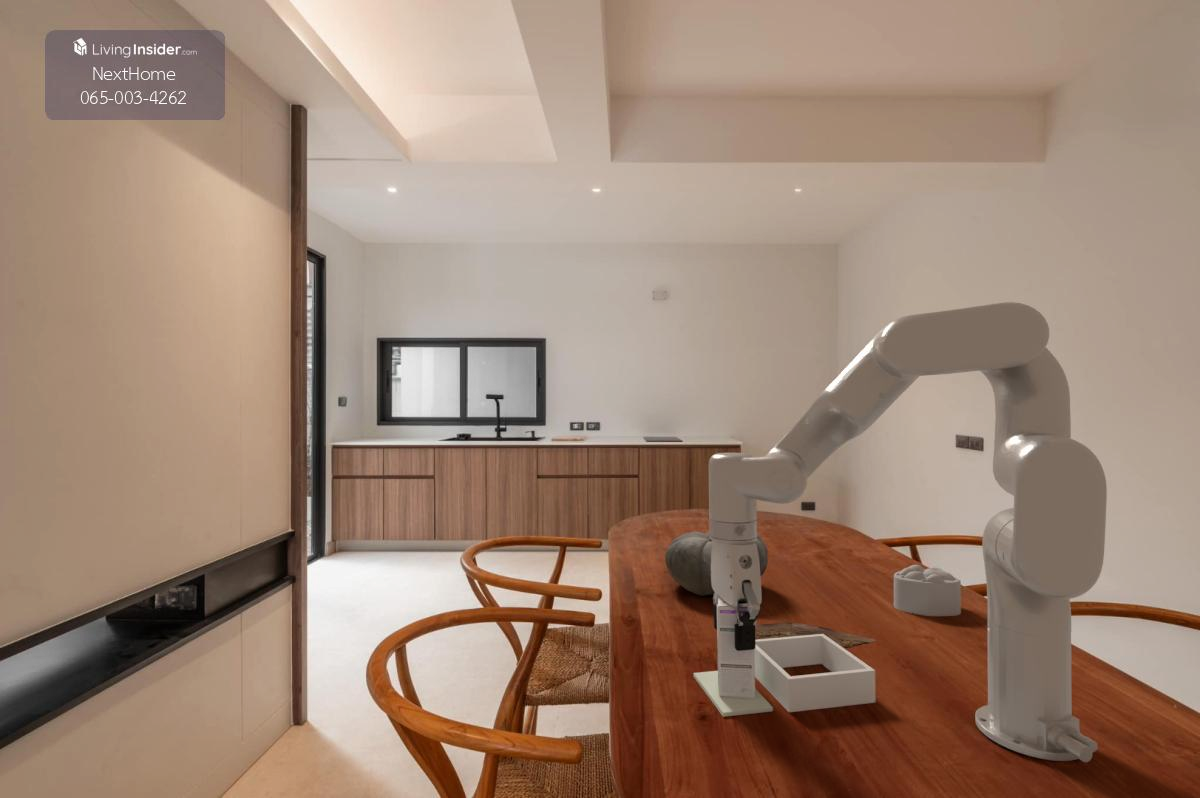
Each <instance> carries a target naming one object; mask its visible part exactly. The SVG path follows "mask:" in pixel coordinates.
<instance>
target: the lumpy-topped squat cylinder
mask: <svg viewBox="0 0 1200 798" xmlns="http://www.w3.org/2000/svg"><path fill="white" fill-rule="evenodd" d="M961 586H962V585H961V579H959V578H957V577H955V576H954V575H953V574H951V573H949V572H947V571H944V570H942V569H941V568H939V567H930V568H926V569H925V568H924V567H923V566H921V565H920V564H912V565H910V566H908V567H904V568H903V569H902V570H899V571H896V572H894V575H893V608H895V609H897V610H898V611H901V612H904V613H908V614H912V613H913V614H912V615H919V616H924V617H925V616H926V617H951V616H952V617H953V616H959V615H961V614H962V589H961Z"/></svg>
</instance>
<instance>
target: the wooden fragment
mask: <svg viewBox="0 0 1200 798" xmlns="http://www.w3.org/2000/svg"><path fill="white" fill-rule="evenodd" d="M815 634H824V635H826V636H827V637H828V638H830V639H831V640H833V641H834V642H836V643H837V644H838V645H840V646H841V647H843V648H844V649H846V648H851V647H854V646H859V645H861V644H866V643H867V644H873V643H875V642H876V641H877V640H876V639H874V638H868V637H864V636H862V635H856V634H852V633H847V632H842V631H837V630H834V629H831V628H826V627H821V626H818V625H817V626H816V625H810V624H804V623H801V622H799V623H798V622H788V621H787V622H774V623H765V624H764V623H763V624H762V623H761V624H756V625H755V640H758V639H770V638H781V637H792V636H803V635H815Z"/></svg>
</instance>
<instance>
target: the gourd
mask: <svg viewBox="0 0 1200 798" xmlns="http://www.w3.org/2000/svg"><path fill="white" fill-rule="evenodd" d="M755 542H756V545H757V550H758V556H759V564H760V577H762V576H763V575H764V574H765V572H766V569H767V566H768V563H769V559H768V558H769V555H768V554H769V551H768V545H767V544H766V543H765V541H764V540H763V538H762V537H761V536H760V535H759V534H758V533H757V541H755ZM711 550H712V540H711V539H710V538H709V530H708V531H707V532H705V533H703V532H700V531H691V532H686V533H683V534H681V535H679V536H677V537H676V538H674V539H673V540H672V541H671V542H670V544H669V547H668V548H667V549H666V551H665V556H664V557H665V565H666V569H667V572H668V573H669V575H670V576H671V578H672V579H673V580H674V581H675V582H676V583H677V584H678V585H679V586H680V587H682V588H684V589H685V590H687V591H688V592H691V593H692V594H695V595H698V596H709V595H711V596H712V595H714V592H713V590H712V585H711Z"/></svg>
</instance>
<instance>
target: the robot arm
mask: <svg viewBox="0 0 1200 798" xmlns="http://www.w3.org/2000/svg"><path fill="white" fill-rule="evenodd" d="M1049 339H1050V328H1049V324H1048V321H1047V320H1046V318H1045V317H1044V316H1043V314H1042V313H1041V312H1040V311H1038V310H1037V309H1036V308H1034V307H1032V306H1030V305H1027V304H1026V303H1025V304H1024V303H1021V302H1011V301H1010V302H1009V301H1008V302H998V303H991V304H990V303H989V304H984V305H979V306H978V305H977V306H970V307H964V308H956V309H949V310H941V311H933V312H925V313H916V314H909V315H905V316H901V317H898V318H896V319H894V320H893V321H891V322H889V323H888V324H886V326H884V327H883V328H882V329H881V330H880V331H878V332H877V334H876V335H875V336H874V337H873V338H872V339H871V340H870V341H869V342H868V343H867V344H866V345H865V346H864V347H863V348H862V349H861V351H860V352H858V354H857V355H856V356H855V357H854V358H853V359H851V361H850V362H849V364H847V366H846V367H844V369H843V370H842V371H840V373H839V374H837V376H836V378H834V379H833V381H832V382H830V383H829V385H827V386H826V388H825V389H824V390H823V391H822V392H821V393H820V395H818V397H817V398H815V400H814V401H813V403H812V405H811V406H810V407H809V408H808V409H807V411H806V412H805V413H804V415H802V417H801V418H800V419H799V420H798V421H797V422H796V423H795V424H794V425H793V426H792V427H791V428H790V430H788V432H786V433H785V435H784V436H783V437H781V439H780V440H779V441H778V442H777V443H776V444H775V445H774V446H773V448H771V450H770V451H769V452H767V454H765V456H753V455H751V454H749V453H746V452H719V453H718V452H717V453H715V454H714V453H713V455H711V457H710V458H709V460H708V518H709V519H708V522H709V523H708V524H709V525H708V526H709V527H708V531H709V538H710V539H711V540H712V550H711V585H712V590H713V592H714V594H713V597H712V601H713V628H714V629H715V631H717V595H719V596H720V597H721V598H722V599H723V600H725V601H726V602H727V603H728V604H730V605H731V606H733V607H734V611H735V616H736V621H737V624H734V627H735V649H736V650H737V651H743V650H753V649H755V640H756V639H755V625H757V623H758V622H757V620H758V617H759V612H760V610H761V606H760V605H761V604H762V601H763V600H762V598H763V597H762V580H761V579H762V578H761V577H762V576H761V577H760V564H759V556H758V550H757V545H756V542H755V541H757V534H758V530H757V529H758V528H757V527H758V521H757V520H758V519H757V518H758V515H757V514H758V512H757V510H758V509H757V507H758V505H757V502H758V501H760V502H761V501H762V502H767V503H773V504H780V505H781V504H783V505H784V504H790V503H793V502H795V501H797V500H799V498H801V497H802V496H803V494H804V493H805V491H806V488H807V484H808V479H809V478H810V477H811V476H812V475H813V474H814V472H816V470H818V468H820V466H821V465H822V464H823V463H824V462H825V461H827V460H828V458H830V456H831V455H833V454H834V453H835V451H837V450H838V449H839V448H841V447H842V446H843V445H845V444H846V443H848V442H849V441H852V440H853V439H856V438H857V437H858V436H860V435H862V434H864V433H865V432H866V431H867V430H868V429H870V428H871V426H872V425H874V423H875V422H876V421H877V420H878V419H879V418H880V417H882V415H883V414H884V413H885V412H886V411H887V410H888V409H889V408H890V406H891V405H893V404H894V402H895V401H897V400H898V398H899V397H900V396H901V395H902V394H904V393H905V392H906V390H908V389H909V388H910V386H911V385H912V384H914V382H915V381H916V380H917V379H918V378H919V377H924V376H937V375H938V376H939V375H952V374H961V373H969V372H980V373H982V374H983V375H984V377H986V379H987V381H988V383H990V385H991V387H992V388H991V389H992V392H993V395H994V408H995V409H994V412H995V418H994V419H995V422H994V425H995V426H994V443H993V446H994V447H993V459H992V474H993V476H994V479H995V481H996V483H997V484H998V485H999V486H1000V487H1001V488H1002V490H1004V491H1005V492H1006V493H1008V494H1010V495H1011V496H1013V507H1011V508H1006V509H1004V510H1002V511H999V512H998V513H996V514H995V515H993V516H992V517H991V518H990V520H988V522H987V524H986V526H985V528H984V530H983V535H982V544H981V548H982V555H983V556H982V557H983V563H984V572H985V581H986V599H987V600H986V601H987V609H986V610H987V617H986V618H987V620H986V621H987V623H986V624H987V625H986V626H987V704H986V705H983V706H981V707H979V708H978V709H977V710H975V717H974V718H975V719H974V720H975V725H976V726H977V728H978V729H979V731H981V733H983V734H984V735H985V737H987V738H988V739H990V740H991V741H993V742H995V743H997V744H998V745H1000V746H1002V747H1005V748H1006V749H1009V750H1011V751H1013V752H1017V753H1019V754H1022V755H1025V756H1028V757H1032V758H1037V759H1042V760H1047V761H1053V762H1054V761H1056V762H1071V761H1074V760H1080V761H1081V762H1083V763H1088V762H1091V759H1092V758H1093V753H1095V752H1096V751H1097V750H1098V742H1096V741H1095V740H1093V739H1092V738H1089V737H1088V736H1087V735H1086V736H1085V735H1083V734H1082V733H1081V731H1080V718H1077V717H1076V716H1074V715H1072V713H1073V712H1072V711H1073V710H1072V707H1073V706H1072V611H1071V610H1072V609H1071V600H1070V599H1074V598H1078V597H1081V596H1082V595H1085V594H1086V593H1087V592H1089V591H1090V590H1091V589H1092V588H1093V587H1094V586H1095V585H1096V583H1097V581H1099V579H1100V576H1101V573H1102V570H1103V566H1104V558H1105V557H1104V556H1105V543H1106V524H1107V523H1106V521H1107V498H1108V496H1107V495H1108V492H1107V489H1108V488H1107V479H1106V478H1107V477H1106V475H1105V471H1104V468H1103V466H1102V464H1101V461H1100V460H1099V458H1098V457H1097V456H1096V455H1095V453H1094V452H1093V451H1092V450H1091V449H1090V448H1089V447H1087V446H1086V445H1085V444H1083V443H1081V442H1079V441H1077V440H1074V439H1073V438H1072V437H1071V429H1072V427H1071V423H1072V421H1071V418H1072V417H1071V394H1070V387H1069V382H1068V379H1067V376H1066V373H1065V371H1064V369H1063V367H1062V365H1061V364H1060V362H1059V360H1057V358H1056V357H1055V356H1054V354H1053V353H1052V352H1051V351H1050V350H1049V349H1048V347H1047V345H1048V342H1049ZM742 600H746V602H747V603H740V604H738V601H742ZM745 608H747V611H745V612H744V613H743V615H741V611H740V609H745Z"/></svg>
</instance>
